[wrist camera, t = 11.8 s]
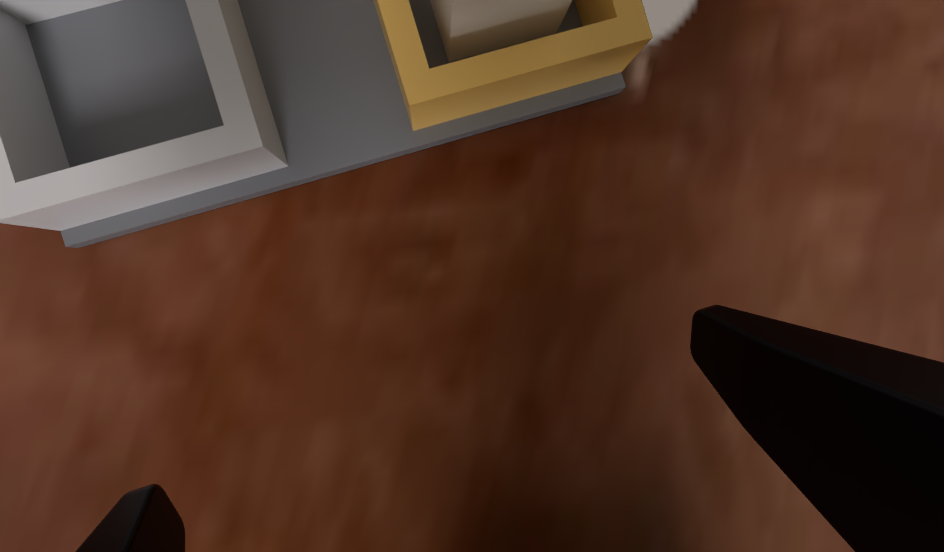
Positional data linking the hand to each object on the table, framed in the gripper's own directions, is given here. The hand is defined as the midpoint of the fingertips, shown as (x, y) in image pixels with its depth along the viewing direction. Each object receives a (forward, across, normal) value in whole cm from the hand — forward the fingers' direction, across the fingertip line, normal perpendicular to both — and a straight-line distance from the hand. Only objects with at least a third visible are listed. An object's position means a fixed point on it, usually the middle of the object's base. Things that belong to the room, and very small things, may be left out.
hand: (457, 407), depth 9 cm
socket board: (+13, 0, -5) cm, 14 cm away
